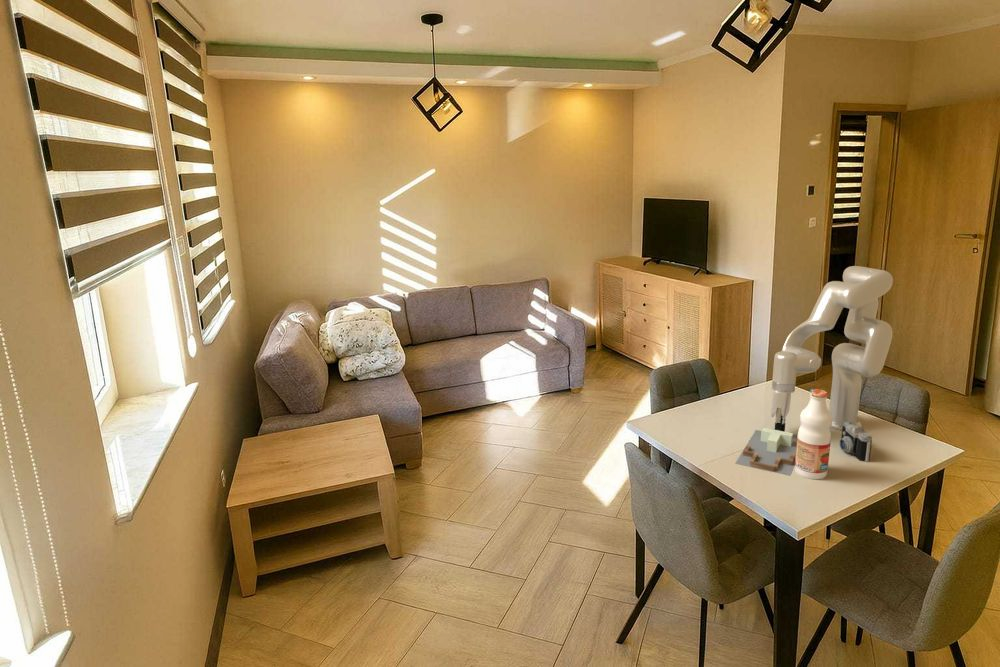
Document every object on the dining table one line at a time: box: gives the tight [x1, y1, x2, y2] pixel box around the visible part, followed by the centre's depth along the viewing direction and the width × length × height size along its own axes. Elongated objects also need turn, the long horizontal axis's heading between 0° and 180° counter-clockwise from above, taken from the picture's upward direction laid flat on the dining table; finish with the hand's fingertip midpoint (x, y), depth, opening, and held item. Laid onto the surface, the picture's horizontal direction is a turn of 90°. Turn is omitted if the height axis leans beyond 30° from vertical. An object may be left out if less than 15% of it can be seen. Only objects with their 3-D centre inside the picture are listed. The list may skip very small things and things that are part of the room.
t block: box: [760, 427, 794, 452], centre depth 214 cm, size 10×10×4 cm
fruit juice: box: [794, 388, 832, 480], centre depth 192 cm, size 9×9×28 cm
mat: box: [734, 429, 797, 477], centre depth 211 cm, size 31×17×1 cm, turn 146°
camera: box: [839, 421, 873, 463], centre depth 207 cm, size 15×7×10 cm, turn 177°
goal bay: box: [742, 444, 795, 473], centre depth 204 cm, size 13×15×2 cm
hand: (779, 433), depth 222 cm, fingers closed
